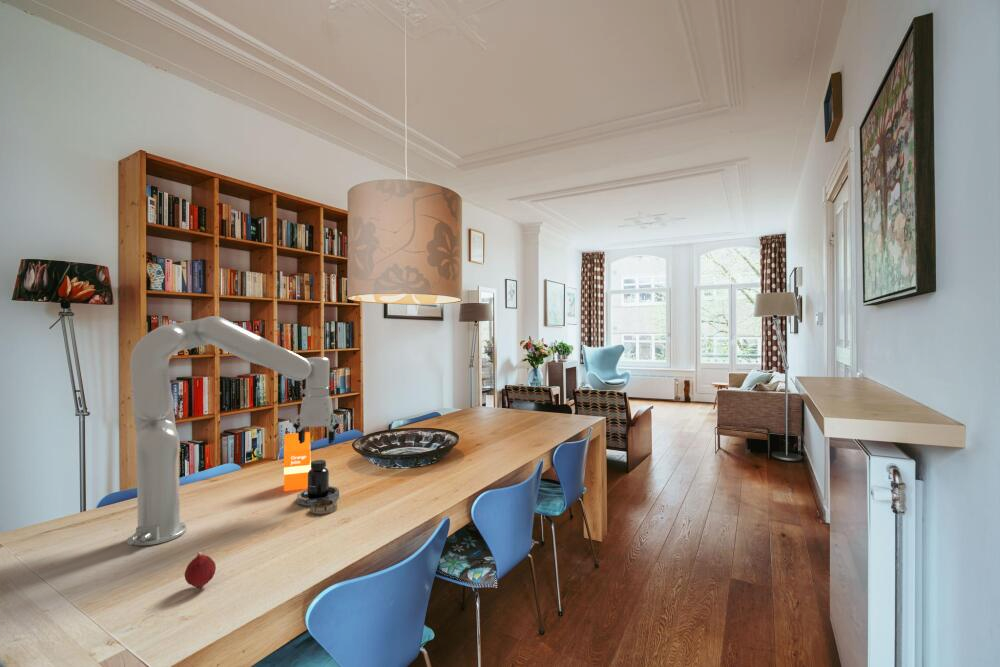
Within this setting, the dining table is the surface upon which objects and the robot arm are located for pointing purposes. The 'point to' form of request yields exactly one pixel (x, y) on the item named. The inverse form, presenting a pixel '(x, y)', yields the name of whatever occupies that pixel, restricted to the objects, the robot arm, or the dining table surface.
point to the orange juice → (296, 462)
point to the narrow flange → (324, 507)
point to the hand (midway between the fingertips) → (316, 442)
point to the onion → (200, 570)
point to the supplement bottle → (318, 480)
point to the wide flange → (305, 501)
